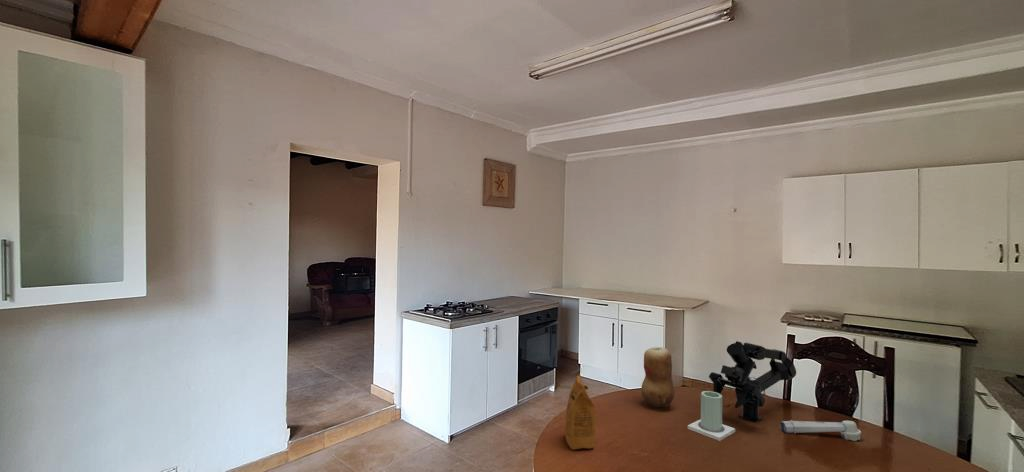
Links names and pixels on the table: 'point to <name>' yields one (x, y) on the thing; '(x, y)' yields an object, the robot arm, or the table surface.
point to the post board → (712, 434)
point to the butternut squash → (658, 377)
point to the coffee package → (580, 418)
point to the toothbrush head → (823, 428)
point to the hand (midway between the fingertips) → (724, 403)
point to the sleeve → (711, 410)
